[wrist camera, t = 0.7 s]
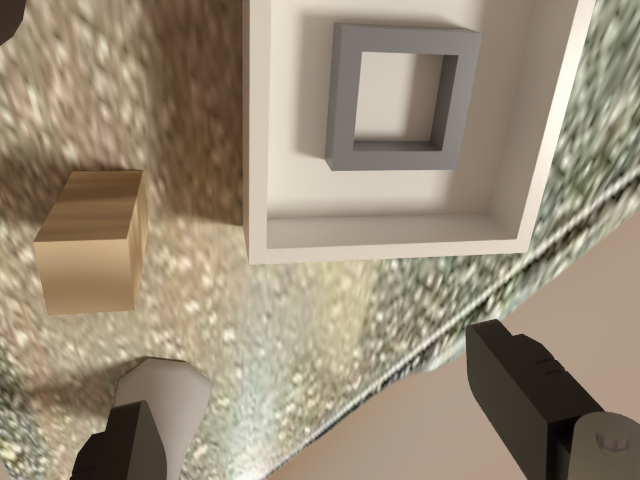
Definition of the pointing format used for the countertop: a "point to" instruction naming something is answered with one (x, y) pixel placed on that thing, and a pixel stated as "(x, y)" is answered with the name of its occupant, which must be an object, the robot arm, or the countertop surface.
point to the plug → (94, 243)
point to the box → (401, 124)
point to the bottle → (10, 18)
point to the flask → (169, 403)
